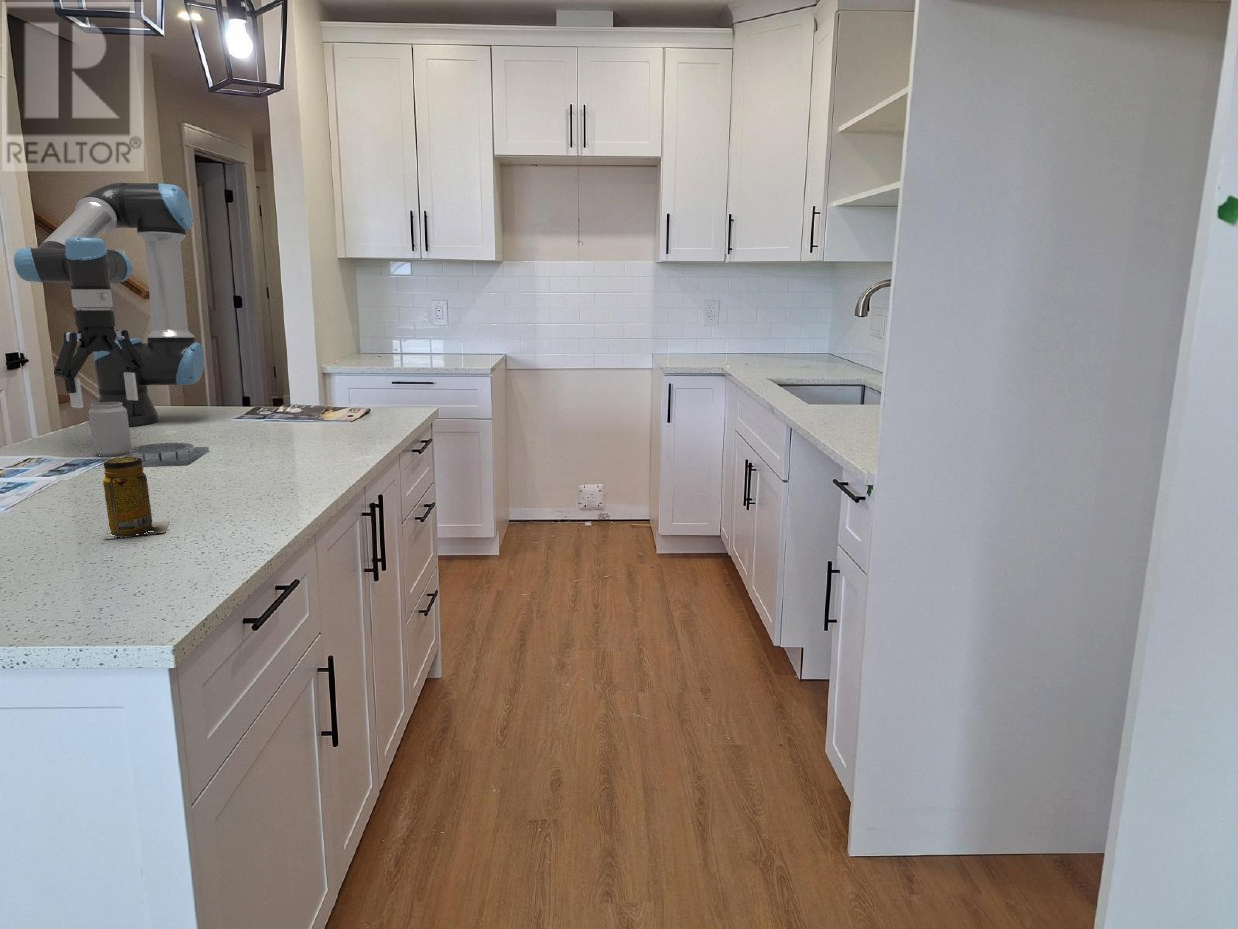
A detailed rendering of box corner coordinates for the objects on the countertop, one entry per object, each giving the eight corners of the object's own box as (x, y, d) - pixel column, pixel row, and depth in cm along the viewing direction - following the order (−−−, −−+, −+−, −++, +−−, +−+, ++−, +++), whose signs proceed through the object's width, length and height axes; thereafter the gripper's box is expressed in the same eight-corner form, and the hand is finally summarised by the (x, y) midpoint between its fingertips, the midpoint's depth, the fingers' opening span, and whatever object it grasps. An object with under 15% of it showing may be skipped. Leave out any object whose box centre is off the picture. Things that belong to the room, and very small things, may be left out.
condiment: (111, 527, 132) (101, 456, 130) (169, 522, 136) (161, 453, 133) (104, 540, 126) (93, 466, 123) (165, 534, 129) (156, 462, 127)
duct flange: (140, 452, 188) (138, 442, 187) (208, 450, 190) (207, 440, 190) (113, 467, 173) (111, 456, 173) (187, 465, 176) (186, 454, 175)
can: (139, 451, 189) (133, 400, 187) (117, 458, 182) (110, 405, 179) (110, 450, 190) (103, 400, 187) (86, 457, 183) (79, 405, 180)
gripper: (50, 310, 166) (64, 411, 170) (154, 308, 189) (165, 397, 193) (25, 310, 168) (39, 410, 173) (131, 308, 191) (141, 396, 196)
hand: (106, 403), depth 183 cm, fingers open, 13 cm apart
